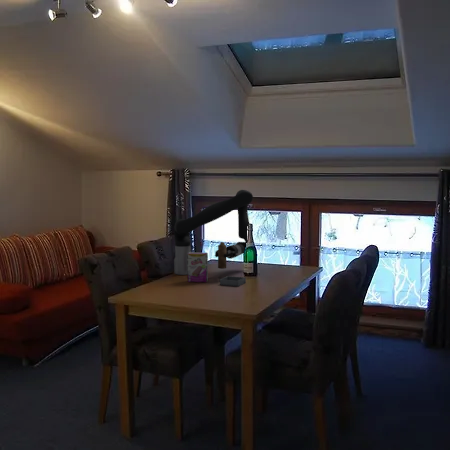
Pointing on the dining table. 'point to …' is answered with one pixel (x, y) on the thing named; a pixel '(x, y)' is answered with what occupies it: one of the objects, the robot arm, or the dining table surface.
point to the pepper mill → (221, 255)
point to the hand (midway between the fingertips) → (220, 255)
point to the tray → (232, 281)
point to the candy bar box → (197, 267)
